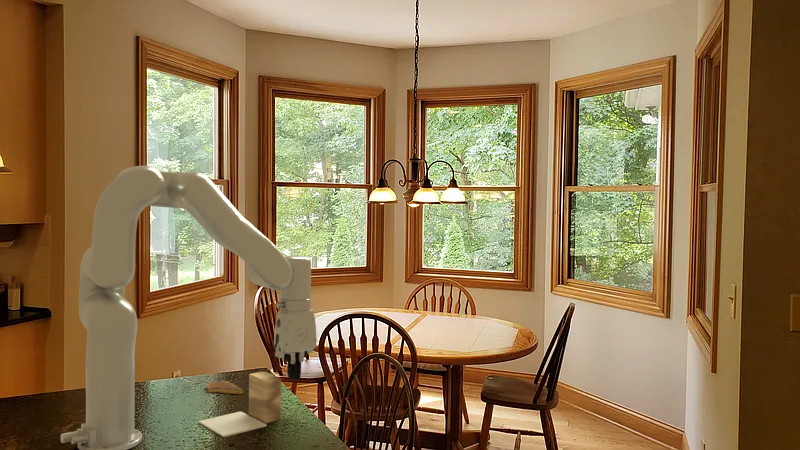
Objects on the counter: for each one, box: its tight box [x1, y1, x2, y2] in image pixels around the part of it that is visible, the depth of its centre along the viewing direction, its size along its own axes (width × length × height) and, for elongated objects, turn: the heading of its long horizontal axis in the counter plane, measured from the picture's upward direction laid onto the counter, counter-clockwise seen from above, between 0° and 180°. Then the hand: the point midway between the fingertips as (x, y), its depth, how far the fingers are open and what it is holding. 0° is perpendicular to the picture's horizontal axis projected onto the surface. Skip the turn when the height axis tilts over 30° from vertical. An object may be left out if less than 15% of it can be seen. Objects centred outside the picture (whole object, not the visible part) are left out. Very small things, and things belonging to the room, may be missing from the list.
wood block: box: [248, 371, 282, 424], centre depth 158 cm, size 4×8×10 cm, turn 43°
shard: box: [205, 380, 245, 395], centre depth 178 cm, size 11×8×2 cm
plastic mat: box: [198, 410, 268, 438], centre depth 153 cm, size 11×12×1 cm
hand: (294, 377), depth 164 cm, fingers closed
